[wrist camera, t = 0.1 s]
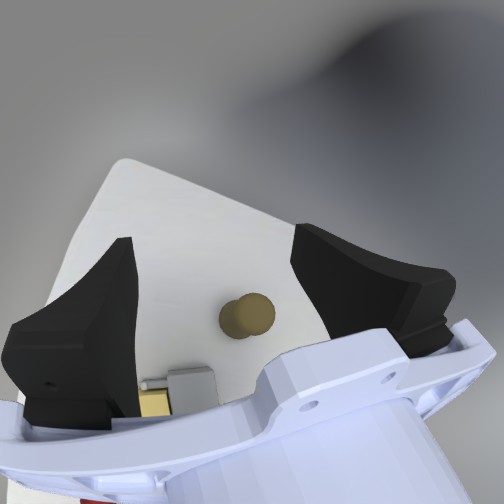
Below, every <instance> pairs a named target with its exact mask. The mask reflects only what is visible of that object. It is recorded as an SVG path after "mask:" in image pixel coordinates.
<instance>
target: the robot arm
mask: <svg viewBox="0 0 504 504" xmlns="http://www.w3.org/2000/svg"><path fill="white" fill-rule="evenodd" d="M290 263H291V265H292V268H293V270H294V273H295V275H296V277H297V279H298V281H299V283H300V284H301V286H302V288H303V289H304V291H305V292H306V294H307V296H308V297H309V299H310V300H311V302H312V304H313V305H314V307H315V308H316V310H317V312H318V313H319V315H320V317H321V319H322V321H323V323H324V325H325V327H326V329H327V331H328V334H329V336H330V338H331V340H328V341H324V342H320V343H316V344H311V345H307V346H302V347H298V348H296V349H293V350H290V351H288V352H285V353H282V354H280V355H279V356H277V357H276V358H275V359H273V360H272V361H270V362H269V363H268V364H266V365H265V367H264V368H263V370H262V372H261V373H260V375H259V377H258V378H257V381H256V388H255V392H254V394H251V395H249V396H246V397H243V398H240V399H237V400H234V401H232V402H229V403H226V404H223V405H220V406H216V407H213V408H210V409H207V410H204V411H200V412H192V413H184V414H174V415H164V416H152V417H142V414H141V408H140V401H139V393H138V385H137V375H136V363H135V330H136V318H137V308H138V297H139V292H138V273H137V267H136V262H135V256H134V250H133V244H132V237H124V238H117V239H116V240H115V242H114V243H113V244H112V245H111V246H110V248H109V249H108V250H107V251H106V252H105V254H104V255H103V256H102V257H101V258H100V260H99V261H98V262H97V263H96V264H95V265H94V266H93V267H92V268H91V269H90V270H89V272H88V273H87V274H86V275H85V276H84V277H83V278H82V279H81V280H80V281H78V282H77V283H76V284H75V285H74V286H73V287H72V288H70V289H69V290H68V291H67V292H65V293H64V294H63V295H61V296H60V297H59V298H57V299H56V300H55V301H53V302H52V303H50V304H49V305H47V306H46V307H44V308H43V309H41V310H39V311H38V312H36V313H34V314H32V315H30V316H28V317H26V318H24V319H23V320H21V321H18V322H17V323H14V324H12V326H11V328H10V331H9V334H8V337H7V340H6V342H5V345H4V348H3V351H2V355H1V362H2V365H3V367H4V369H5V371H6V373H7V374H8V376H9V377H10V378H11V379H12V381H13V382H14V383H15V385H16V386H17V387H18V388H19V389H20V391H21V392H22V393H23V394H24V395H25V396H26V400H25V406H24V405H23V404H21V403H19V402H15V401H8V400H1V399H0V474H2V475H4V476H6V477H7V478H9V479H11V480H13V481H14V482H16V483H18V484H20V485H22V486H24V487H26V488H30V489H34V490H39V491H44V492H49V493H53V494H58V495H64V496H69V497H75V498H81V499H88V500H95V501H103V502H113V503H125V504H473V503H472V501H471V500H470V498H469V496H468V494H467V493H466V491H465V489H464V487H463V485H462V484H461V482H460V480H459V478H458V477H457V475H456V473H455V472H454V470H453V468H452V467H451V465H450V463H449V462H448V460H447V458H446V457H445V455H444V453H443V452H442V450H441V448H440V447H439V445H438V443H437V442H436V440H435V439H434V437H433V435H432V434H431V432H430V431H429V429H428V428H427V426H426V424H425V423H424V421H423V420H425V419H426V418H428V417H429V416H431V415H432V414H433V413H435V412H436V411H438V410H439V409H440V408H442V407H443V406H445V405H446V404H447V403H449V402H450V401H451V400H453V399H454V398H455V397H457V396H458V395H459V394H461V393H462V392H463V391H465V390H466V389H467V388H469V387H470V385H471V384H472V383H473V382H474V381H475V380H476V379H477V377H478V376H479V375H480V374H481V373H482V372H483V370H484V369H485V368H486V367H487V366H488V364H489V363H490V362H491V360H492V359H493V358H494V357H495V355H496V351H495V350H494V349H493V348H492V347H491V345H490V344H489V343H488V342H487V341H486V340H485V338H484V337H483V336H482V335H481V334H480V333H479V332H478V331H477V329H476V328H475V327H474V326H473V325H472V324H471V323H470V322H469V321H468V320H467V319H463V320H461V321H459V322H457V323H455V324H453V325H452V326H451V327H450V328H449V329H448V328H447V326H446V325H445V323H446V322H447V319H446V317H444V315H443V314H444V312H445V310H446V309H447V307H448V305H449V303H450V301H451V299H452V297H453V295H454V293H455V289H456V280H455V278H454V277H453V276H452V275H451V274H450V273H449V272H447V271H446V270H444V269H436V268H429V267H422V266H417V265H412V264H408V263H404V262H400V261H396V260H393V259H389V258H386V257H383V256H380V255H378V254H375V253H372V252H370V251H367V250H365V249H362V248H360V247H358V246H356V245H354V244H352V243H349V242H347V241H345V240H343V239H341V238H339V237H337V236H335V235H333V234H331V233H329V232H327V231H325V230H323V229H321V228H319V227H316V226H314V225H312V224H308V223H305V224H296V227H295V234H294V240H293V246H292V253H291V259H290Z"/></svg>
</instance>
